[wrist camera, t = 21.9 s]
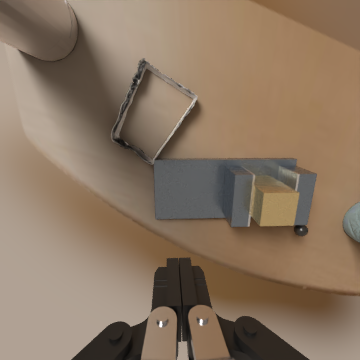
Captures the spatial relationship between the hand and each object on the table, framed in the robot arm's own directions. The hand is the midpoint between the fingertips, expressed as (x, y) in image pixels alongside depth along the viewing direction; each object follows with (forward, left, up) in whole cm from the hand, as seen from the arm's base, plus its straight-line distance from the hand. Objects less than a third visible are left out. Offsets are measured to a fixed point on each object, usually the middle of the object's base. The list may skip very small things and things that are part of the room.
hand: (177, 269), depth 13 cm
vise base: (+11, -4, -25) cm, 27 cm away
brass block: (+15, -3, -24) cm, 28 cm away
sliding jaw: (+11, -3, -24) cm, 26 cm away
